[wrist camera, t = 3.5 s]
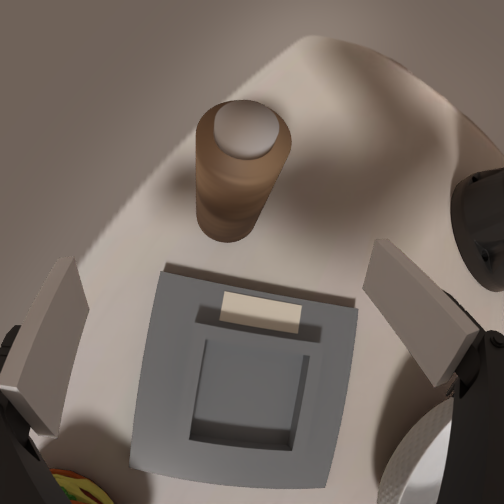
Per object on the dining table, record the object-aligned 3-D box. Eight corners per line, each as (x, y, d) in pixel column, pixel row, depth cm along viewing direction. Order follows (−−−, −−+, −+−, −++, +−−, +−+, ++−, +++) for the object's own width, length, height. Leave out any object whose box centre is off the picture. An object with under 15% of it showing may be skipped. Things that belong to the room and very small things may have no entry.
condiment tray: (353, 309, 25) (367, 306, 23) (320, 483, 21) (331, 494, 18) (162, 273, 24) (158, 266, 21) (131, 462, 19) (125, 474, 17)
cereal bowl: (340, 540, 19) (372, 575, 12) (368, 396, 24) (417, 409, 17) (458, 500, 21) (495, 515, 15) (484, 378, 26) (529, 379, 19)
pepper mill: (260, 193, 27) (300, 100, 15) (251, 248, 25) (291, 176, 14) (204, 181, 26) (209, 81, 15) (190, 235, 25) (183, 153, 13)
